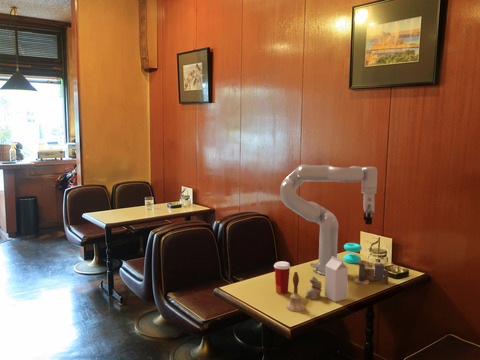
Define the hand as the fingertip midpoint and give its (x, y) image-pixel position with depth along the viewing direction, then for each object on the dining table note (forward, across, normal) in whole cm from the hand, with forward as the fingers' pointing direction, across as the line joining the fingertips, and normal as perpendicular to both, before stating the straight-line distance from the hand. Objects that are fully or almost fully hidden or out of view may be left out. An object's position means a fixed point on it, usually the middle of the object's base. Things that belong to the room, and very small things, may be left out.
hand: (367, 222), depth 205 cm
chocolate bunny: (+29, -36, +26) cm, 53 cm away
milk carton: (+28, -35, +16) cm, 48 cm away
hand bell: (+29, -49, +33) cm, 66 cm away
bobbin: (+28, -13, +3) cm, 31 cm away
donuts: (+29, +19, +6) cm, 35 cm away
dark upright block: (+26, -10, -6) cm, 29 cm away
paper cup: (+28, -34, +41) cm, 60 cm away
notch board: (+28, -10, -3) cm, 30 cm away
